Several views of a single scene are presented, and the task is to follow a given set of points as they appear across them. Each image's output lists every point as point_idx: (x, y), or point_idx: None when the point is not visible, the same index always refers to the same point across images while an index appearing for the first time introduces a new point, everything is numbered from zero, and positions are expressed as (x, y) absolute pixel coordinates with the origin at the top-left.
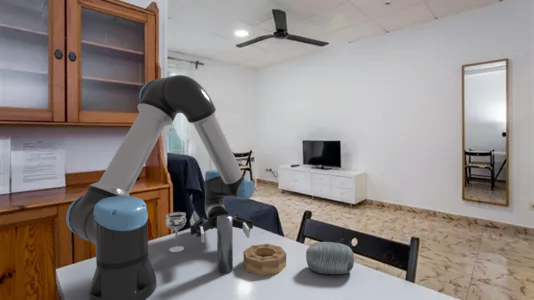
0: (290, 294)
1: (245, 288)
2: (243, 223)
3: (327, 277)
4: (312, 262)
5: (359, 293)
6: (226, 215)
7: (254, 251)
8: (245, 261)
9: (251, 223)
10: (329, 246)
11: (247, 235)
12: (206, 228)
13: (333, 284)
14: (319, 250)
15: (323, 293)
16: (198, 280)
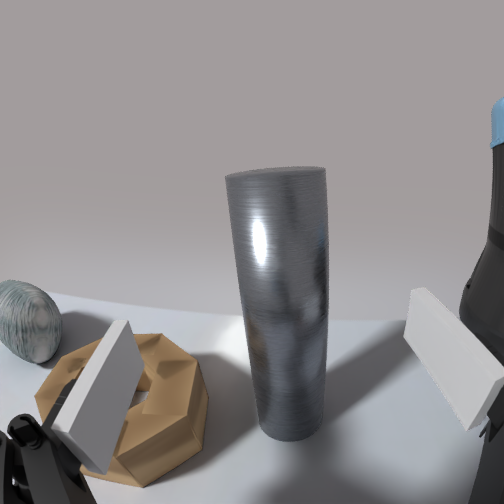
0: (157, 310)
1: (239, 333)
2: (77, 411)
3: None
4: (59, 315)
5: (69, 298)
6: (261, 174)
7: (139, 406)
8: (199, 402)
9: (12, 440)
10: (19, 282)
11: (139, 354)
12: (478, 495)
13: (72, 317)
14: (37, 288)
15: (107, 305)
16: (378, 367)
